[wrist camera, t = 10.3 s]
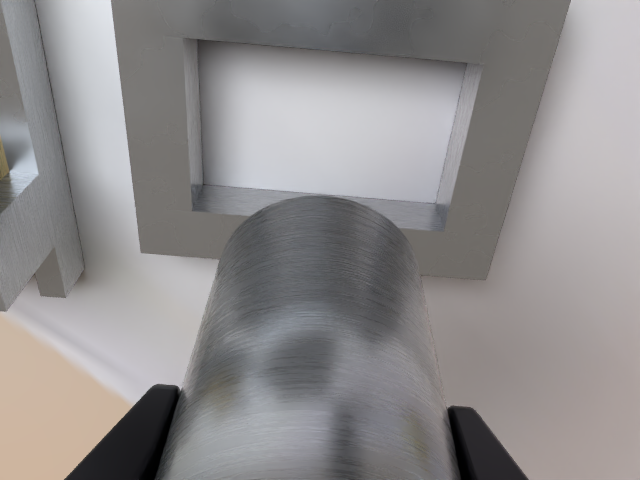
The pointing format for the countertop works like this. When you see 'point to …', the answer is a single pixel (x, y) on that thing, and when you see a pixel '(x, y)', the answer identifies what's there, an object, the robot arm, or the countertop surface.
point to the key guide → (32, 168)
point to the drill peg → (313, 356)
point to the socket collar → (344, 36)
